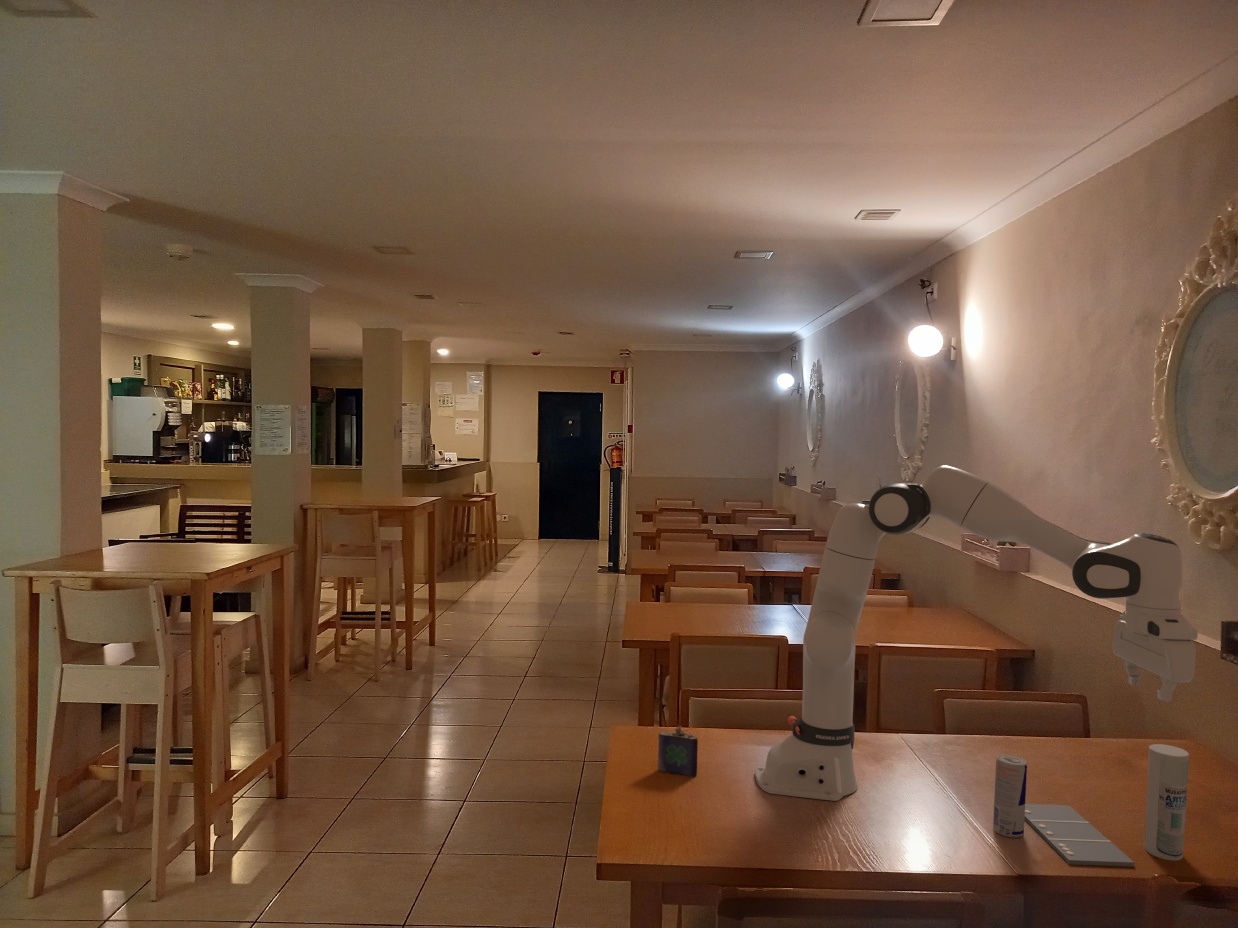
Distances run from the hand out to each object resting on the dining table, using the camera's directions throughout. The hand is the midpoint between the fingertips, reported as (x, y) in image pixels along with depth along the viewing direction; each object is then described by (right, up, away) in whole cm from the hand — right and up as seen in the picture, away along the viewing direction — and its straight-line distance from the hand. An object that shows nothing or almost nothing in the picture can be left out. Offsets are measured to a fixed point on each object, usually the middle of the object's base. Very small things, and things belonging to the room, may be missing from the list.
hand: (1148, 692), depth 162 cm
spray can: (+4, -32, +2) cm, 32 cm away
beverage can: (-23, -31, +9) cm, 39 cm away
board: (-11, -31, +8) cm, 34 cm away
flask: (-87, -28, +34) cm, 98 cm away
